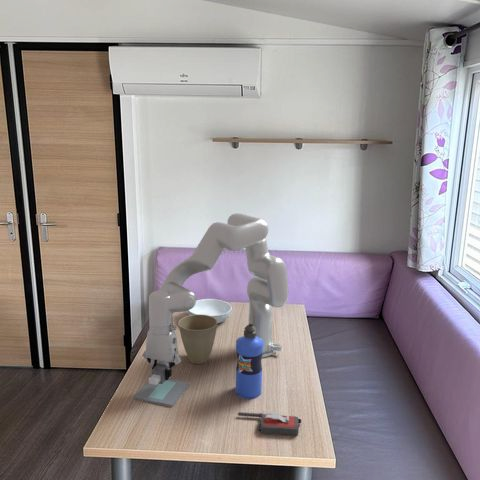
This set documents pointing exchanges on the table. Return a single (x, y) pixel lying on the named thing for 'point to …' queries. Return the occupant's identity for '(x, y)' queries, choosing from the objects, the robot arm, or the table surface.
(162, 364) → the usb plug
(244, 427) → the table surface
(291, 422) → the walkie-talkie
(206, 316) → the plant pot
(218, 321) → the serving bowl
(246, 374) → the water bottle
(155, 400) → the dock pad
